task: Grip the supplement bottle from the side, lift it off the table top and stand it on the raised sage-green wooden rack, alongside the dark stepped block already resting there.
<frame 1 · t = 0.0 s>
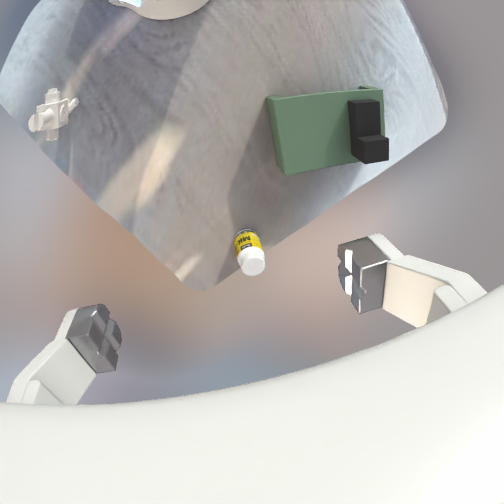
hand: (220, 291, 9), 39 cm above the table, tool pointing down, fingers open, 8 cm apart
supplement bottle: (245, 238, 56), on the table
rack: (323, 123, 44), on the table
dark stepped block: (361, 126, 41), point 5 cm above the table, touching rack
toy robot: (70, 107, 35), on the table
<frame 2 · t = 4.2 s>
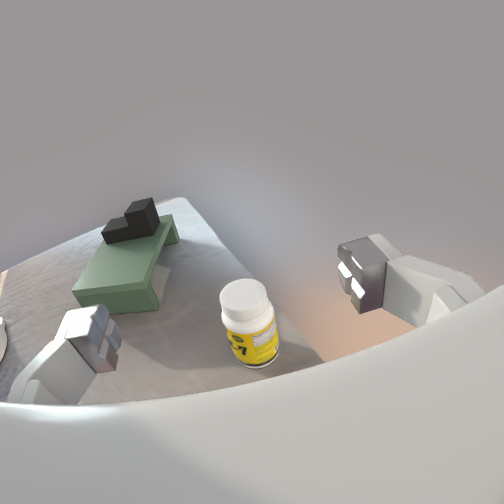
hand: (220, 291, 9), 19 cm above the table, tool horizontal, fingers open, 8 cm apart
supplement bottle: (257, 352, 29), on the table
rack: (136, 273, 45), on the table
dark stepped block: (133, 233, 46), point 5 cm above the table, touching rack
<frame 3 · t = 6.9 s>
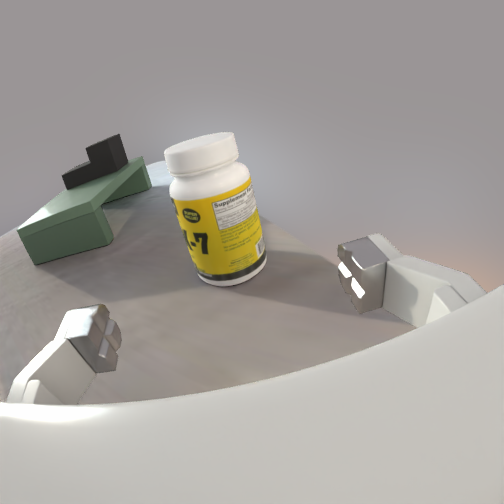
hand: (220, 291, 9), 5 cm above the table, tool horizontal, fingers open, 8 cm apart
supplement bottle: (233, 268, 20), on the table
rack: (97, 220, 35), on the table
dark stepped block: (97, 176, 36), point 5 cm above the table, touching rack
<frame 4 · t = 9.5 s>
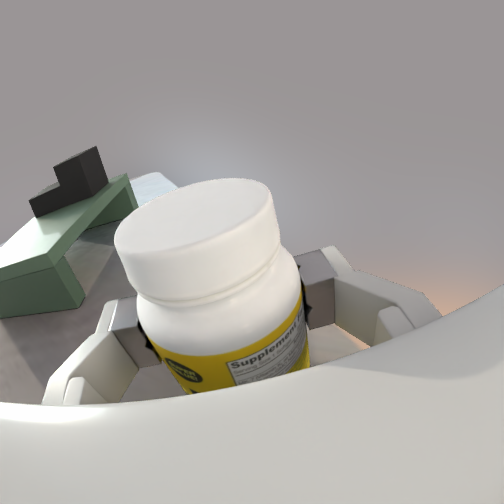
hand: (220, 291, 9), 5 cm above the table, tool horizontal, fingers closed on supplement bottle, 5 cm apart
supplement bottle: (256, 395, 11), on the table, touching gripper
rack: (71, 258, 27), on the table
dark stepped block: (71, 200, 28), point 5 cm above the table, touching rack
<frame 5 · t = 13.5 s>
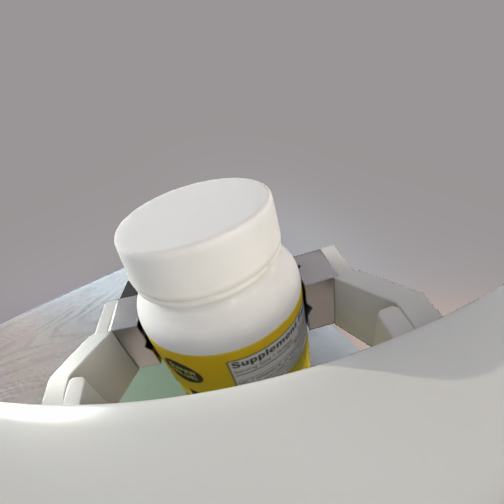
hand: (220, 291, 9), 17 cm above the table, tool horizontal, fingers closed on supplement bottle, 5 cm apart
supplement bottle: (256, 395, 11), point 11 cm above the table, touching gripper
rack: (182, 370, 27), on the table
when the fingers open (10 cm above the table, at t = 17.4 s): supplement bottle stays where it is, resting on rack.
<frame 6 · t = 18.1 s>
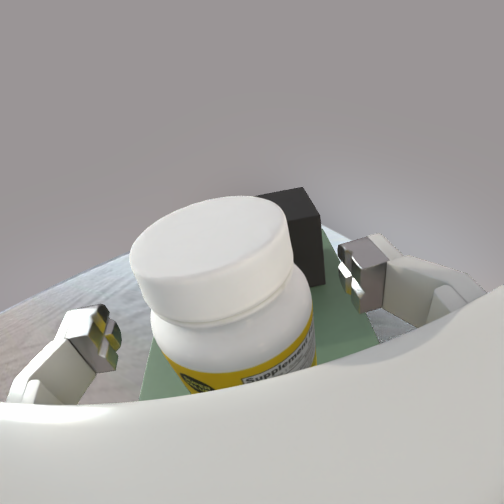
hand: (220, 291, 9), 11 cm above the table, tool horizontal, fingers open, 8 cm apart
supplement bottle: (264, 402, 12), point 5 cm above the table, touching rack
rack: (268, 376, 18), on the table
dark stepped block: (250, 277, 19), point 5 cm above the table, touching rack
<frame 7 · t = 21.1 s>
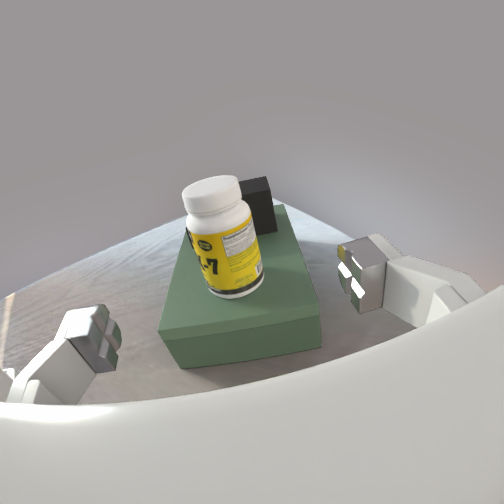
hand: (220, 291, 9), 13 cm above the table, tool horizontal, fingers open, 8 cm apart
supplement bottle: (237, 283, 24), point 5 cm above the table, touching rack
rack: (245, 292, 31), on the table
dark stepped block: (234, 230, 32), point 5 cm above the table, touching rack
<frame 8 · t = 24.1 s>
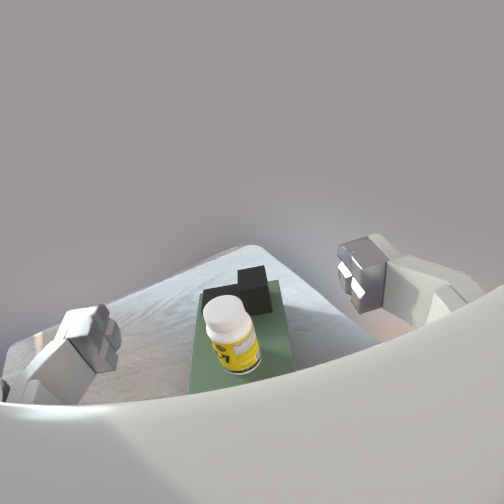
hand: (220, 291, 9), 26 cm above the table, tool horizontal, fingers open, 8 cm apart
supplement bottle: (241, 360, 32), point 5 cm above the table, touching rack
rack: (247, 354, 39), on the table
dark stepped block: (238, 307, 40), point 5 cm above the table, touching rack
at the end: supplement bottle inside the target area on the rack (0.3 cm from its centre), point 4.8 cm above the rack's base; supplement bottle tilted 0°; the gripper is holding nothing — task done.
